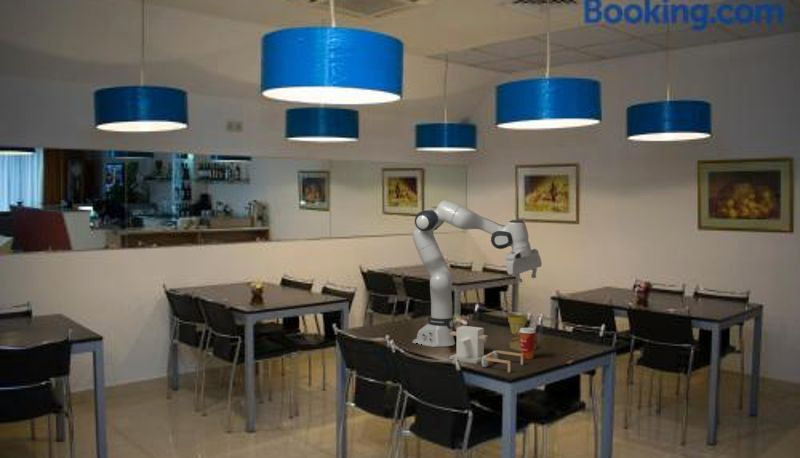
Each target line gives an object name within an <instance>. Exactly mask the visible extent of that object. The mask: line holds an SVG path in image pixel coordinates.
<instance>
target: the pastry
mask: <svg viewBox="0 0 800 458" xmlns="http://www.w3.org/2000/svg"><path fill="white" fill-rule="evenodd" d="M509 348H510V349H511V350H514V351H517V352H521V345H520V332H516V334H513V337H512V339H511V340H510V341H509ZM536 349H537V342H536V340H535V339H534V351H535V350H536Z"/></svg>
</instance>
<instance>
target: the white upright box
mask: <svg viewBox="0 0 800 458" xmlns="http://www.w3.org/2000/svg"><path fill="white" fill-rule="evenodd" d="M484 333H485V328H484V327H477V326H469V325H461V326H459V327H456V331H454V330H453V332H451V333H450V335H453V336H456V345H455V346H456V353H454V354H451V355H450V356H449V357H448V358H449V360H450V359H453V358H457V359H458V360H459V361H458V362H463V363H469V364H478V363H480V362H481V363H482V358H483V356H484V355H485V356H486V355H487V354H484V351H485V350H484V349H485V348H484V339H487V340H488V337H489V336H488V335H487V334H484ZM450 361H451V360H450Z"/></svg>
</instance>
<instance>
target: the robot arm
mask: <svg viewBox="0 0 800 458" xmlns="http://www.w3.org/2000/svg"><path fill="white" fill-rule="evenodd" d="M444 223H447V224H449V225H451V226H452V227H455V228H457V229H460V230H463V231H464V230H465V231H466V230H480V231H482V232H483V231H484V232H485V233H488V234H490V235H491V236H490V241H491V245H492V247H494V248H495V249H498V250H504V249H506V248H509V247H511V251H509V253H507V254H506V255H505V260H506V264H505V265H506V272H507V274H508V275H509V276H514V277H515V279H516V280H517V283H518V284H521V283H523V279H522V278H521V277H520V274H523V273H525V272H528V271H532V273H531V278H532V279H536V278H537V272H538V269H537V268H541V267H542V264H543V263H542V259H541V256H540V253H539V250H538V249H536V248H533V249H532V248H531V244H530V241H529V232H528V229H527V225H526V223H525V221H523V220H522V219H514V220H513V219H512V220H510V221H509V222H507V223H506V224H505V225H503V224H499V223H497V222H496V221H493V220H490V219H488V218H486V217H485V216H481V215H480V214H477V213H476V212H474V211H472V210H470V209H469V208H467V207H465V206H463V205H462V204H459V203H456V202H454V201H452V200H451V201H450V200H448V199H444V200H441V201H440V202H438V205H437V206H431V207H428V208H425V209H423V210H421V211H420V212H418V213H417V214H416V215H415V217H414V225H415V228H414V229H413V230H412V239H413V243H414V245H415V249H416V251H417V253H418V255H419V258H420V259H421V263H422V265H423V266H424V267H425V269H426V271H427V272H428V274H429V276H430V279H429V292H430V293H429V294H430V316H429V317H427V318H426V321H428V322H427V323H426V324H425V325H423V327H421V328H420V329H419V330H418V331H417V335H416V338H415V339H413V340H412V344H416V343H418V344H417V345H421V344H422V345H421V346H427V347H432V348H437V347H450V346H454V345H455V344H456V342H455V337H454V335H450V333H451V332H453V331H454V330H453V327H454V318H453V297H452V295H453V294H452V285H453V283H454V275H453V273H452V271H451V269H450V267H449V265H448V263H447V262H446V261H447V260H446V259H445V257H444V256H443V254H442V251H441V249H440V247H439V244H438V242H437V240H436V237H435V235H434V232H435V231H436V230H437V229H439V228H440V227H441V226H442V225H443V224H444Z"/></svg>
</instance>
